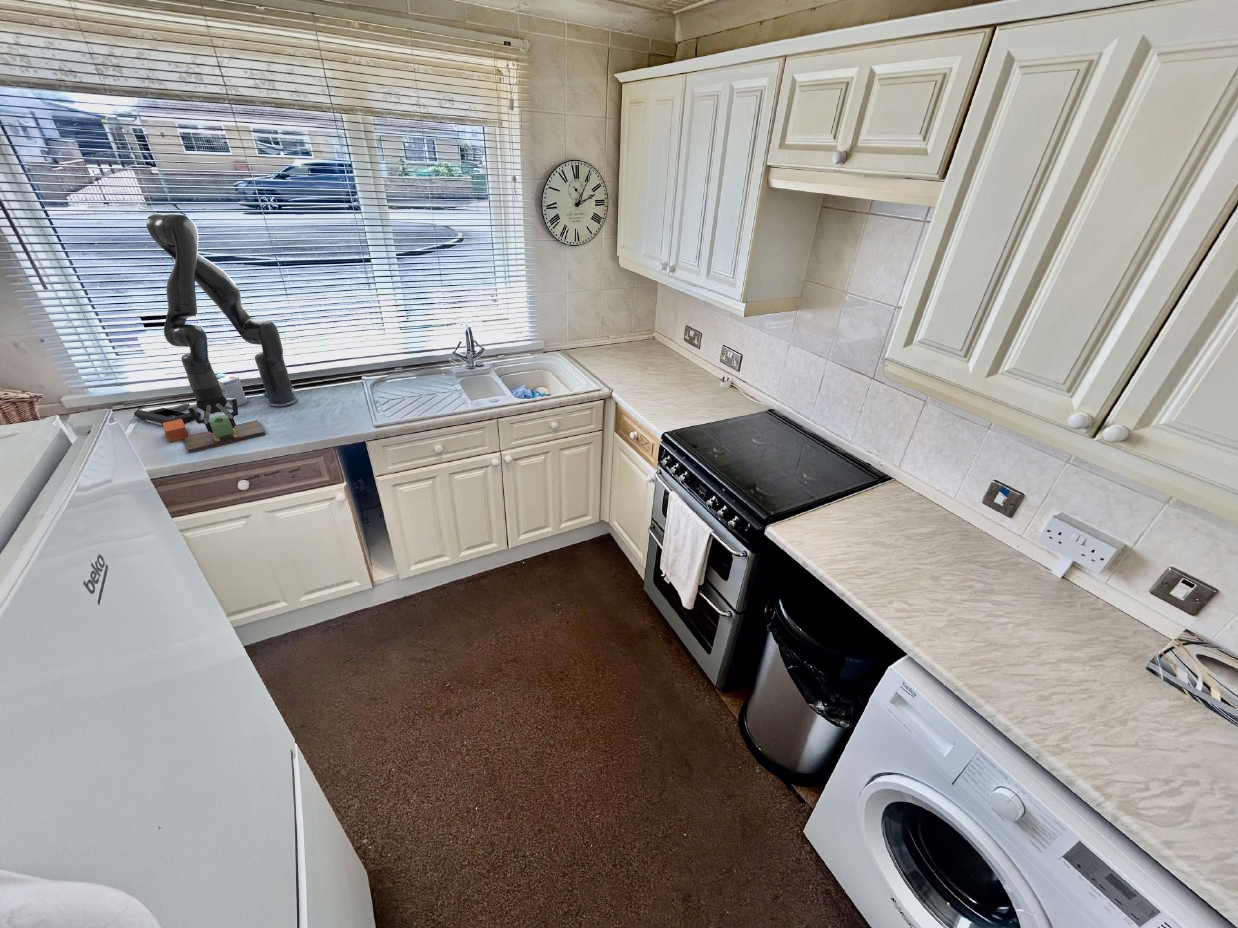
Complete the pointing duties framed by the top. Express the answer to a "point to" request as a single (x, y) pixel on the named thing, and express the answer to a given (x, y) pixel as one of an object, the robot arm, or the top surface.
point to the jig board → (209, 439)
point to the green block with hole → (221, 426)
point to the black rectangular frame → (165, 414)
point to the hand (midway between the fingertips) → (222, 429)
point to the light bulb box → (231, 388)
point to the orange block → (175, 430)
